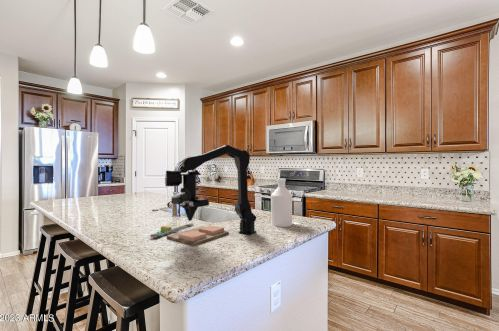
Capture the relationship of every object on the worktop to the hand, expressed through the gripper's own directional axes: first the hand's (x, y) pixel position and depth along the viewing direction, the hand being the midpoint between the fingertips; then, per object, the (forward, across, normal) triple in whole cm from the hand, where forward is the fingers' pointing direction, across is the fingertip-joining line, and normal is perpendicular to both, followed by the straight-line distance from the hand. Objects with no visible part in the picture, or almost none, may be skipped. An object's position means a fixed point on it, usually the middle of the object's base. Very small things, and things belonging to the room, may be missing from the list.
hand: (190, 220), depth 119 cm
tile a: (+6, -3, +12) cm, 14 cm away
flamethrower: (+9, -19, +4) cm, 21 cm away
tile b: (+6, -3, 0) cm, 7 cm away
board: (+8, -1, +6) cm, 10 cm away
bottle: (+9, +19, +49) cm, 53 cm away
